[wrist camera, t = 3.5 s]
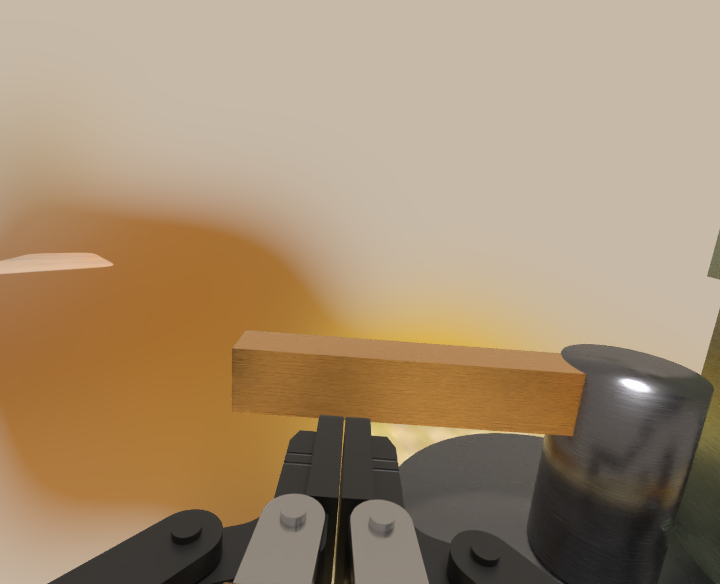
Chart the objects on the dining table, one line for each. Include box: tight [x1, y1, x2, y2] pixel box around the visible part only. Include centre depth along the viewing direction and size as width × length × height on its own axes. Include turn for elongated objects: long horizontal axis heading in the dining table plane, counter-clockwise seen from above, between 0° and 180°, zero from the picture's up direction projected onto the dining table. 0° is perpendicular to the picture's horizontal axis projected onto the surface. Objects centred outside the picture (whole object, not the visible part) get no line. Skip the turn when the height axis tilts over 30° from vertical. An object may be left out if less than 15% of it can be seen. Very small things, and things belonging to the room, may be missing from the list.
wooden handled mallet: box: [232, 330, 714, 584], centre depth 21 cm, size 21×6×10 cm, turn 90°
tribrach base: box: [399, 231, 720, 584], centre depth 20 cm, size 22×22×20 cm
